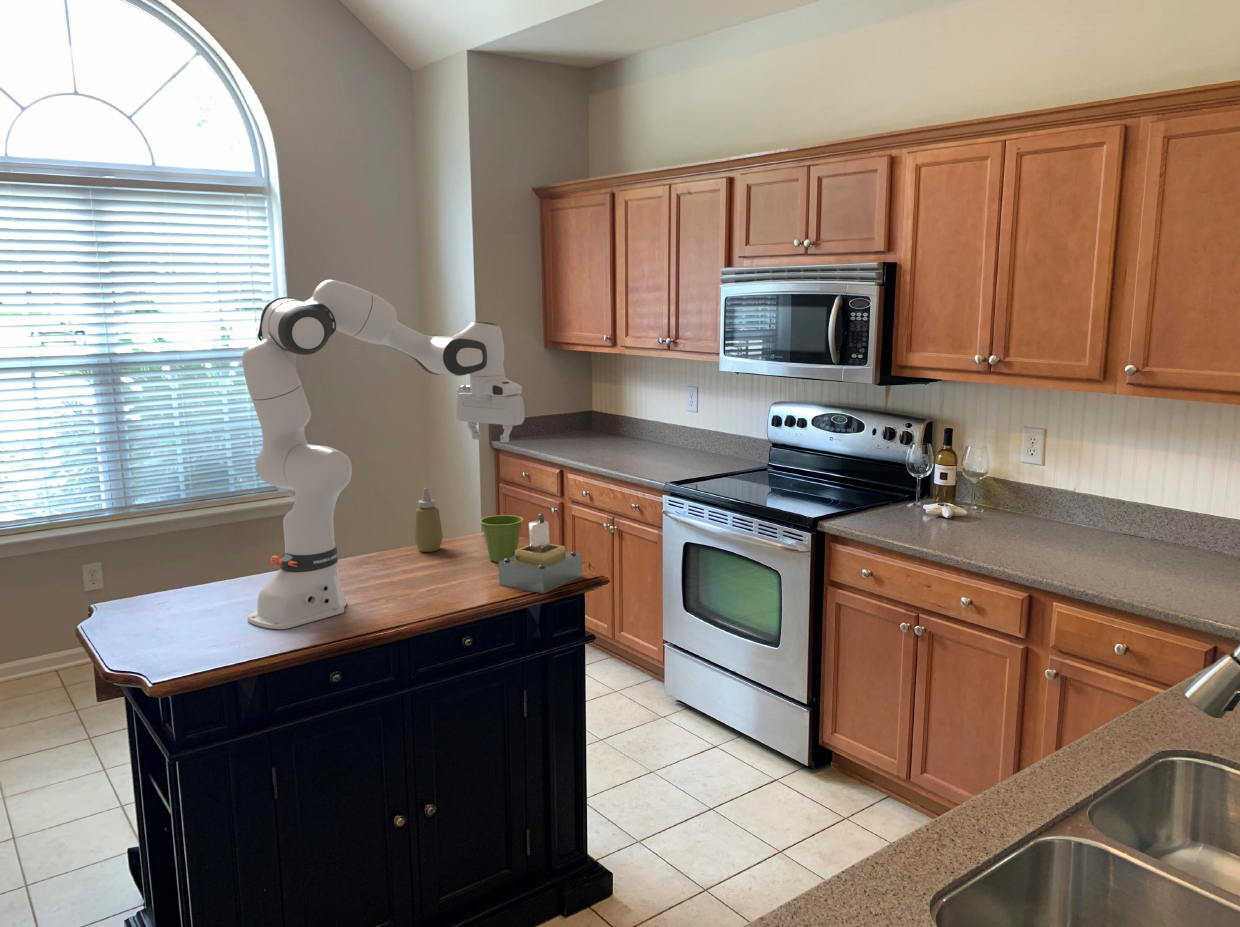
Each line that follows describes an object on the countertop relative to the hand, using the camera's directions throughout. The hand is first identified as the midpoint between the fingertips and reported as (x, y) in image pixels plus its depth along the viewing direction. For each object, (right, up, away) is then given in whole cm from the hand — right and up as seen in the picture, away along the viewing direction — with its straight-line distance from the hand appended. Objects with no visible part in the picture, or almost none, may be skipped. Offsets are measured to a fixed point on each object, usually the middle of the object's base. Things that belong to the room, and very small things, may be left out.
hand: (490, 440), depth 242 cm
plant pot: (+1, -32, +19) cm, 38 cm away
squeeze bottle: (-22, -31, +30) cm, 48 cm away
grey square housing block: (+13, -36, 0) cm, 38 cm away
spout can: (+13, -30, -1) cm, 32 cm away
